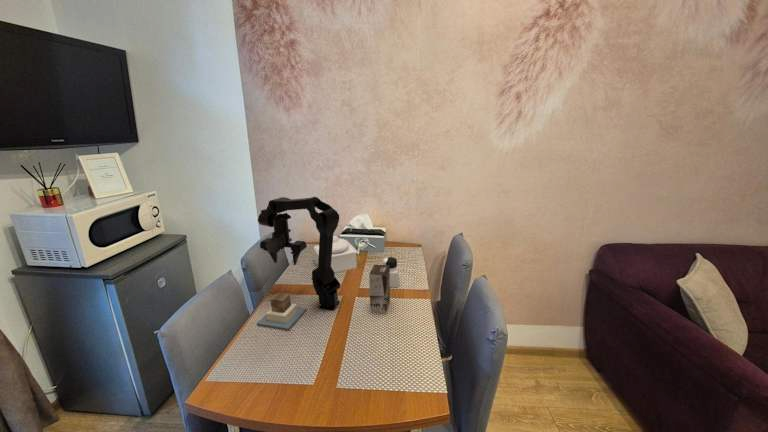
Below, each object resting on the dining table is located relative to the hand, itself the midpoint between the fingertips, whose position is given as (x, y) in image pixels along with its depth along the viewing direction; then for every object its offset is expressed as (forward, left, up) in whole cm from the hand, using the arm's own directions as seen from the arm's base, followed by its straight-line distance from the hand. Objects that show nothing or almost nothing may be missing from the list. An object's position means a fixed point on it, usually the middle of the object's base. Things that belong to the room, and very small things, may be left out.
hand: (285, 263), depth 137 cm
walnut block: (-8, +18, -9) cm, 22 cm away
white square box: (-9, -30, -13) cm, 34 cm away
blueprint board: (-8, +18, -13) cm, 24 cm away
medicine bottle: (-41, -17, -13) cm, 46 cm away
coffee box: (-42, +2, -13) cm, 44 cm away
